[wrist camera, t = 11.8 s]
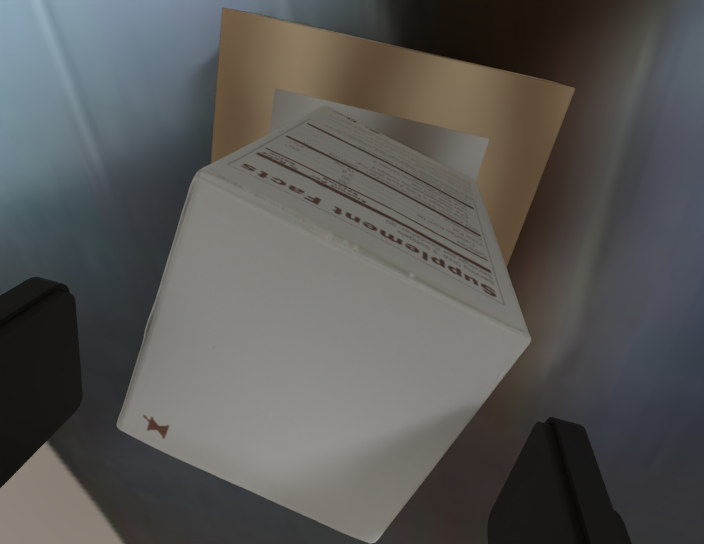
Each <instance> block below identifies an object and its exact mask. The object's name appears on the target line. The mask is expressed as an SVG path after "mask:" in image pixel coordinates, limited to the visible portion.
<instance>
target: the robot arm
mask: <svg viewBox="0 0 704 544" xmlns="http://www.w3.org/2000/svg"><path fill="white" fill-rule="evenodd" d="M81 400H82V382H81V369H80V356H79V343H78V330H77V317H76V304H75V298H74V296H73V295H72V294H70V292H69V289H68V287H67V286H66V285H64V284H62V283H58V282H54V281H51V280H47V279H43V278H40V277H33V278H30V279H28V280H26V281H24V282H23V283H21V284H19V285H18V286H16V287H14V288H13V289H11V290H9V291H7V292H6V293H4V294H2V295H1V296H0V488H1V487H2V486H3V485H4V484H5V483H6V482H7V481H8V480H9V479H10V478H11V477H12V476H13V475H14V474H15V473H16V471H18V470H19V469H20V468H21V467H22V466H23V464H24V463H25V462H26V461H27V460H28V459H29V458H30V457H31V456H32V455H33V454H34V453H35V452H36V451H37V450H38V449H39V448H40V447H41V446H42V445H43V444H44V443H45V442H46V441H47V440H48V439H49V438H50V437H51V436H52V435H53V434H54V433H55V432H56V431H57V430H58V429H59V428H60V427H61V426H62V425H63V424H64V423H65V422H66V421H67V420H68V419H69V418H70V417H71V415H72V414H73V413H74V412H75V411H76V410H77V408H78V407H79V405H80V402H81ZM488 544H632V543H631V541H630V538H629V535H628V532H627V529H626V527H625V524H624V522H623V520H622V518H621V516H620V515H619V514H618V513H617V512H616V511H615V510H613V507H612V504H611V502H610V499H609V496H608V493H607V490H606V487H605V484H604V482H603V479H602V476H601V473H600V470H599V467H598V464H597V461H596V459H595V456H594V453H593V450H592V447H591V444H590V441H589V439H588V436H587V433H586V430H585V429H584V427H583V426H581V425H579V424H575V423H571V422H568V421H564V420H560V419H557V418H553V417H550V418H549V419H547V420H546V422H545V423H542V422H537V423H536V424H535V426H534V428H533V429H532V431H531V433H530V435H529V437H528V439H527V441H526V443H525V445H524V447H523V449H522V451H521V453H520V455H519V457H518V459H517V461H516V463H515V465H514V467H513V469H512V471H511V473H510V475H509V477H508V479H507V481H506V483H505V485H504V487H503V489H502V490H501V492H500V494H499V496H498V498H497V500H496V502H495V504H494V506H493V508H492V510H491V513H490V516H489V520H488Z"/></svg>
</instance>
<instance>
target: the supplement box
mask: <svg viewBox="0 0 704 544" xmlns="http://www.w3.org/2000/svg"><path fill="white" fill-rule="evenodd" d="M530 341H531V337H530V335H529V333H528V330H527V327H526V324H525V321H524V318H523V315H522V312H521V309H520V306H519V303H518V300H517V297H516V294H515V291H514V289H513V286H512V283H511V280H510V277H509V274H508V271H507V268H506V265H505V262H504V259H503V256H502V253H501V250H500V247H499V245H498V242H497V239H496V236H495V233H494V230H493V227H492V224H491V222H490V219H489V216H488V212H487V209H486V207H485V204H484V201H483V198H482V195H481V192H480V189H479V187H478V184H477V182H476V180H474V179H472V178H470V177H468V176H465V175H463V174H461V173H459V172H457V171H455V170H453V169H451V168H449V167H447V166H445V165H443V164H441V163H439V162H437V161H435V160H433V159H431V158H429V157H427V156H425V155H423V154H421V153H419V152H417V151H415V150H413V149H411V148H409V147H407V146H405V145H403V144H401V143H399V142H397V141H395V140H393V139H391V138H389V137H387V136H385V135H383V134H381V133H379V132H377V131H375V130H373V129H371V128H369V127H367V126H365V125H363V124H361V123H359V122H357V121H355V120H353V119H351V118H349V117H347V116H345V115H343V114H341V113H339V112H337V111H335V110H333V109H331V108H329V107H327V106H322V107H320V108H318V109H316V110H314V111H312V112H310V113H309V114H307V115H305V116H303V117H301V118H299V119H297V120H295V121H293V122H291V123H289V124H287V125H285V126H283V127H281V128H279V129H278V130H276V131H274V132H272V133H270V134H268V135H266V136H264V137H262V138H260V139H258V140H256V141H254V142H252V143H251V144H249V145H247V146H245V147H243V148H241V149H239V150H237V151H235V152H233V153H231V154H229V155H227V156H225V157H223V158H221V159H219V160H217V161H216V162H214V163H212V164H209V165H207V166H205V167H203V168H201V169H200V170H198V171H197V173H196V174H195V176H194V177H193V179H192V182H191V184H190V187H189V191H188V195H187V198H186V201H185V204H184V207H183V210H182V213H181V217H180V220H179V224H178V227H177V231H176V234H175V238H174V241H173V244H172V247H171V251H170V254H169V257H168V260H167V263H166V267H165V270H164V273H163V277H162V280H161V283H160V287H159V290H158V293H157V296H156V300H155V302H154V305H153V308H152V311H151V313H150V316H149V318H148V322H147V325H146V327H145V332H144V338H143V342H142V345H141V349H140V352H139V355H138V358H137V362H136V365H135V368H134V371H133V375H132V378H131V381H130V384H129V388H128V391H127V394H126V398H125V401H124V404H123V407H122V410H121V413H120V415H119V418H118V421H117V427H118V429H119V430H121V431H123V432H125V433H127V434H129V435H130V436H132V437H134V438H136V439H138V440H140V441H142V442H144V443H146V444H148V445H150V446H152V447H154V448H156V449H158V450H160V451H162V452H165V453H167V454H169V455H171V456H173V457H175V458H177V459H179V460H182V461H184V462H186V463H188V464H191V465H193V466H195V467H197V468H200V469H202V470H204V471H206V472H209V473H211V474H213V475H215V476H218V477H220V478H222V479H224V480H226V481H229V482H231V483H233V484H235V485H238V486H240V487H242V488H245V489H247V490H249V491H251V492H254V493H256V494H258V495H260V496H262V497H265V498H267V499H269V500H271V501H273V502H275V503H278V504H280V505H282V506H284V507H287V508H289V509H291V510H293V511H296V512H298V513H300V514H302V515H305V516H307V517H309V518H312V519H314V520H316V521H318V522H320V523H322V524H325V525H327V526H329V527H331V528H333V529H335V530H337V531H340V532H342V533H344V534H347V535H349V536H351V537H354V538H357V539H360V540H362V541H365V542H368V543H375V542H376V541H377V540H378V539H379V538H380V536H381V535H382V534H383V533H384V531H385V530H386V529H387V527H388V526H389V524H390V523H391V522H392V521H393V519H394V518H395V517H396V516H397V514H398V513H399V512H400V510H401V509H402V508H403V507H404V505H405V504H406V503H407V501H408V500H409V499H410V498H411V496H412V495H413V494H414V492H415V491H416V490H417V489H418V487H419V486H420V485H421V483H422V482H423V481H424V480H425V478H426V477H427V476H428V474H429V473H430V472H431V471H432V469H433V468H434V467H435V465H436V464H437V463H438V461H439V460H440V459H441V458H442V456H443V455H444V454H445V452H446V451H447V450H448V448H449V447H450V446H451V445H452V443H453V442H454V441H455V439H456V438H457V437H458V435H459V434H460V433H461V432H462V430H463V429H464V428H465V426H466V425H467V424H468V422H469V421H470V420H471V419H472V417H473V416H474V415H475V413H476V412H477V411H478V410H479V408H480V407H481V406H482V404H483V403H484V402H485V400H486V399H487V398H488V397H489V395H490V394H491V393H492V391H493V390H494V389H495V388H496V386H497V385H498V384H499V382H500V381H501V380H502V378H503V377H504V376H505V375H506V373H507V372H508V371H509V369H510V368H511V367H512V365H513V364H514V363H515V361H516V360H517V359H518V358H519V356H520V355H521V354H522V353H523V351H524V350H525V349H526V348H527V347H528V345H529V344H530Z"/></svg>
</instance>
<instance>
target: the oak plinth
mask: <svg viewBox="0 0 704 544" xmlns="http://www.w3.org/2000/svg"><path fill="white" fill-rule="evenodd" d="M574 90H575V88H573V87H570V86H566V85H563V84H560V83H557V82H553V81H549V80H545V79H540V78H536V77H532V76H527V75H523V74H519V73H514V72H510V71H505V70H501V69H497V68H492V67H488V66H483V65H479V64H475V63H470V62H466V61H462V60H457V59H453V58H448V57H444V56H440V55H435V54H431V53H426V52H422V51H418V50H413V49H409V48H405V47H400V46H396V45H391V44H387V43H383V42H378V41H374V40H369V39H365V38H361V37H356V36H352V35H348V34H343V33H339V32H334V31H330V30H326V29H321V28H317V27H312V26H308V25H304V24H299V23H295V22H291V21H286V20H282V19H277V18H273V17H269V16H264V15H260V14H255V13H250V12H244V11H238V10H233V9H227V8H222V20H221V33H220V46H219V60H218V73H217V86H216V100H215V113H214V127H213V140H212V153H211V164H212V163H214V162H216V161H217V160H219V159H221V158H223V157H225V156H227V155H229V154H231V153H233V152H235V151H237V150H239V149H241V148H243V147H245V146H247V145H249V144H251V143H252V142H254V141H256V140H258V139H260V138H262V137H264V136H266V135H268V134H270V133H272V132H274V131H276V130H278V129H279V128H281V127H283V126H285V125H287V124H289V123H291V122H293V121H295V120H297V119H299V118H301V117H303V116H305V115H307V114H309V113H310V112H312V111H314V110H316V109H318V108H320V107H322V106H327V107H329V108H331V109H333V110H335V111H337V112H339V113H341V114H343V115H345V116H347V117H349V118H351V119H353V120H355V121H357V122H359V123H361V124H363V125H365V126H367V127H369V128H371V129H373V130H375V131H377V132H379V133H381V134H383V135H385V136H387V137H389V138H391V139H393V140H395V141H397V142H399V143H401V144H403V145H405V146H407V147H409V148H411V149H413V150H415V151H417V152H419V153H421V154H423V155H425V156H427V157H429V158H431V159H433V160H435V161H437V162H439V163H441V164H443V165H445V166H447V167H449V168H451V169H453V170H455V171H457V172H459V173H461V174H463V175H465V176H468V177H470V178H472V179H474V180H476V182H477V184H478V187H479V189H480V192H481V195H482V198H483V201H484V204H485V207H486V209H487V212H488V216H489V219H490V222H491V224H492V227H493V230H494V233H495V236H496V239H497V242H498V245H499V247H500V250H501V253H502V256H503V259H504V262H505V265H506V268H507V265H508V263H509V260H510V257H511V255H512V252H513V249H514V247H515V244H516V242H517V239H518V236H519V234H520V231H521V229H522V226H523V223H524V221H525V218H526V216H527V213H528V210H529V208H530V205H531V203H532V200H533V197H534V195H535V192H536V189H537V187H538V184H539V182H540V179H541V176H542V174H543V171H544V169H545V166H546V163H547V161H548V158H549V156H550V153H551V150H552V148H553V145H554V142H555V140H556V137H557V135H558V132H559V129H560V127H561V124H562V122H563V119H564V116H565V114H566V111H567V109H568V106H569V103H570V101H571V98H572V96H573V93H574Z"/></svg>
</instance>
